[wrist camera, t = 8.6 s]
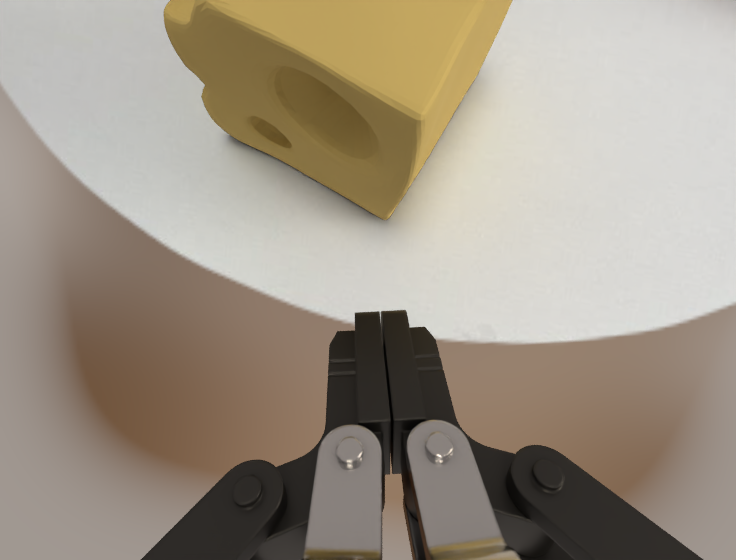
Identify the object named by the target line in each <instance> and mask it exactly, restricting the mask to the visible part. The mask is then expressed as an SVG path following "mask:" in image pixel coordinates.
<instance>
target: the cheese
mask: <svg viewBox="0 0 736 560" xmlns="http://www.w3.org/2000/svg"><path fill="white" fill-rule="evenodd" d="M511 3H512V0H170V1H169V3H168V4H167V5H166V7H165V9H164V23H165V28H166V31H167V34H168V37H169V39H170V41H171V44H172V45H173V47H174V49H175V51H176V53H177V54H178V56H179V57H180V59H181V60H182V61H183V63H184V64H185V66H186V67H187V68H188V69H190V70H191V71H192V72H193V73H194V74H195V75H196V76H197V77H198V78H199V79H200V80H201V81H202V82H203V83H204V84H205V87H204V89H203V93H202V96H201V97H202V100H203V103H204V105H205V108H206V110H207V111H208V113H209V115H210V117H211V118H212V119H213V120H214V122H215V123H216V124H217V125H218V126H220V127H221V128H222V129H223V130H224V131H225V132H227V133H228V134H229V135H231V136H232V137H234V138H235V139H237V140H239V141H241V142H243V143H245V144H247V145H249V146H251V147H254V148H256V149H258V150H260V151H263V152H265V153H267V154H269V155H271V156H273V157H275V158H277V159H279V160H281V161H283V162H285V163H286V164H288V165H290V166H292V167H294V168H295V169H297V170H299V171H300V172H302V173H304V174H306V175H307V176H309V177H311V178H313V179H314V180H316V181H318V182H319V183H321V184H323V185H325V186H326V187H328V188H330V189H332V190H333V191H335V192H337V193H339V194H340V195H342V196H344V197H346V198H347V199H349V200H351V201H352V202H354V203H356V204H357V205H359V206H361V207H362V208H364V209H366V210H367V211H369V212H371V213H372V214H374V215H376V216H378V217H379V218H381V219H383V220H387V219H388V218H389V217H390V216H391V215H392V213H393V212H394V210H395V209H396V207H397V205H398V204H399V202H400V201H401V200H402V198H403V197H404V195H405V194H406V192H407V190H408V188H409V187H410V185H411V184H412V182H413V181H414V179H415V178H416V176H417V175H418V173H419V171H420V170H421V168H422V167H423V165H424V163H425V162H426V160H427V158H428V157H429V155H430V153H431V152H432V150H433V148H434V146H435V145H436V143H437V141H438V140H439V138H440V136H441V135H442V133H443V131H444V129H445V128H446V126H447V124H448V123H449V121H450V119H451V117H452V116H453V114H454V112H455V110H456V109H457V107H458V105H459V104H460V102H461V100H462V99H463V97H464V95H465V94H466V92H467V91H468V89H469V87H470V86H471V84H472V83H473V81H474V80H475V78H476V76H477V75H478V73H479V70H480V68H481V66H482V64H483V62H484V60H485V58H486V56H487V54H488V52H489V50H490V48H491V46H492V43H493V41H494V39H495V37H496V35H497V33H498V31H499V29H500V27H501V25H502V22H503V20H504V18H505V16H506V14H507V11H508V9H509V7H510V5H511Z"/></svg>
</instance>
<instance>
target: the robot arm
mask: <svg viewBox="0 0 736 560" xmlns="http://www.w3.org/2000/svg"><path fill="white" fill-rule="evenodd" d="M328 368H329V369H328V388H327V408H326V425H325V431H324V434H323V436H322V438H321V440H320V441H319V443H318V444H317V445H316V446H315V447H314V449H312V450H311V451H310V452H309V453H307V454H306V455H304V456H302V457H300V458H298V459H296V460H293V461H291V462H288V463H285V464H283V465H281V466H278V467H275V466H274V465H273V464H271V463H269V462H267V461H263V460H250V461H246V462H243V463H241V464H239V465H237V466H235V467H234V468H233V469H231V470H230V471H229V472H228V473H227V474H226V475H225V476H224V477H223V478H222V479H221V480H220V481H219V482H218V483H217V484H216V485H215V486H214V487H213V488H212V489H211V490H210V491H209V492H208V493H207V494H206V495H205V496H204V497H203V498H202V499H201V500H200V501H199V502H198V503H197V504H196V505H195V506H194V507H193V508H192V509H191V510H190V511H189V512H188V513H187V514H186V515H185V516H184V517H183V518H182V519H181V520H180V521H179V522H178V523H177V524H176V525H175V526H174V527H173V528H172V529H171V530H170V531H169V532H168V533H167V534H166V535H165V536H164V537H163V538H162V539H161V540H160V541H159V542H158V543H157V544H156V545H155V546H154V547H153V548H152V549H151V550H150V551H149V552H148V553H147V554H146V555H145V556H144V557H143V558H142V559H141V560H382V512H383V509H384V503H385V475H386V474H390V453H391V464H392V473H393V474H400V473H401V475H402V483H403V492H404V499H403V507H404V513H405V519H406V524H407V530H408V535H409V541H410V546H411V552H412V557H413V560H703V559H702V558H700V557H699V556H698V555H696V554H695V553H694V552H692V551H691V550H689V549H688V548H687V547H686V546H684V545H683V544H682V543H680V542H679V541H678V540H676V539H675V538H674V537H672V536H671V535H670V534H668V533H667V532H666V531H664V530H663V529H661V528H660V527H659V526H657V525H656V524H655V523H653V522H652V521H651V520H649V519H648V518H647V517H645V516H644V515H643V514H641V513H640V512H639V511H637V510H636V509H635V508H633V507H632V506H631V505H629V504H628V503H627V502H625V501H624V500H623V499H621V498H620V497H619V496H617V495H616V494H614V493H613V492H612V491H611V490H609V489H608V488H607V487H605V486H604V485H602V484H601V483H600V482H599V481H597V480H596V479H595V478H593V477H592V476H591V475H589V474H588V473H587V472H585V471H584V470H582V469H581V468H580V467H578V466H577V465H576V464H574V463H573V462H572V461H570V460H569V459H568V458H566V457H565V456H564V455H562V454H561V453H559V452H558V451H556V450H554V449H551V448H548V447H546V446H541V445H531V446H526V447H524V448H522V449H520V450H519V451H518V452H517V453H516V454H513V453H509V452H505V451H502V450H498V449H494V448H490V447H487V446H484V445H482V444H480V443H478V442H476V441H474V440H473V439H471V438H470V437H469V436H468V435H467V434H466V433H465V432H464V431H463V430H462V428H461V427H460V426H459V424H458V422H457V419H456V417H455V413H454V409H453V406H452V401H451V397H450V394H449V390H448V386H447V382H446V378H445V374H444V371H443V367H442V363H441V359H440V357H439V352H438V348H437V344H436V340H435V338H434V337H433V336H432V335H431V334H430V332H429V331H428V330H427V329H426V328H425V327H413V328H409V323H408V317H407V312H406V310H397V311H381V323H380V314H379V312H359V313H355V331H338V332H337V333H336V335H335V337H334V338H333V340H332V342H331V343H330V348H329V367H328Z"/></svg>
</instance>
